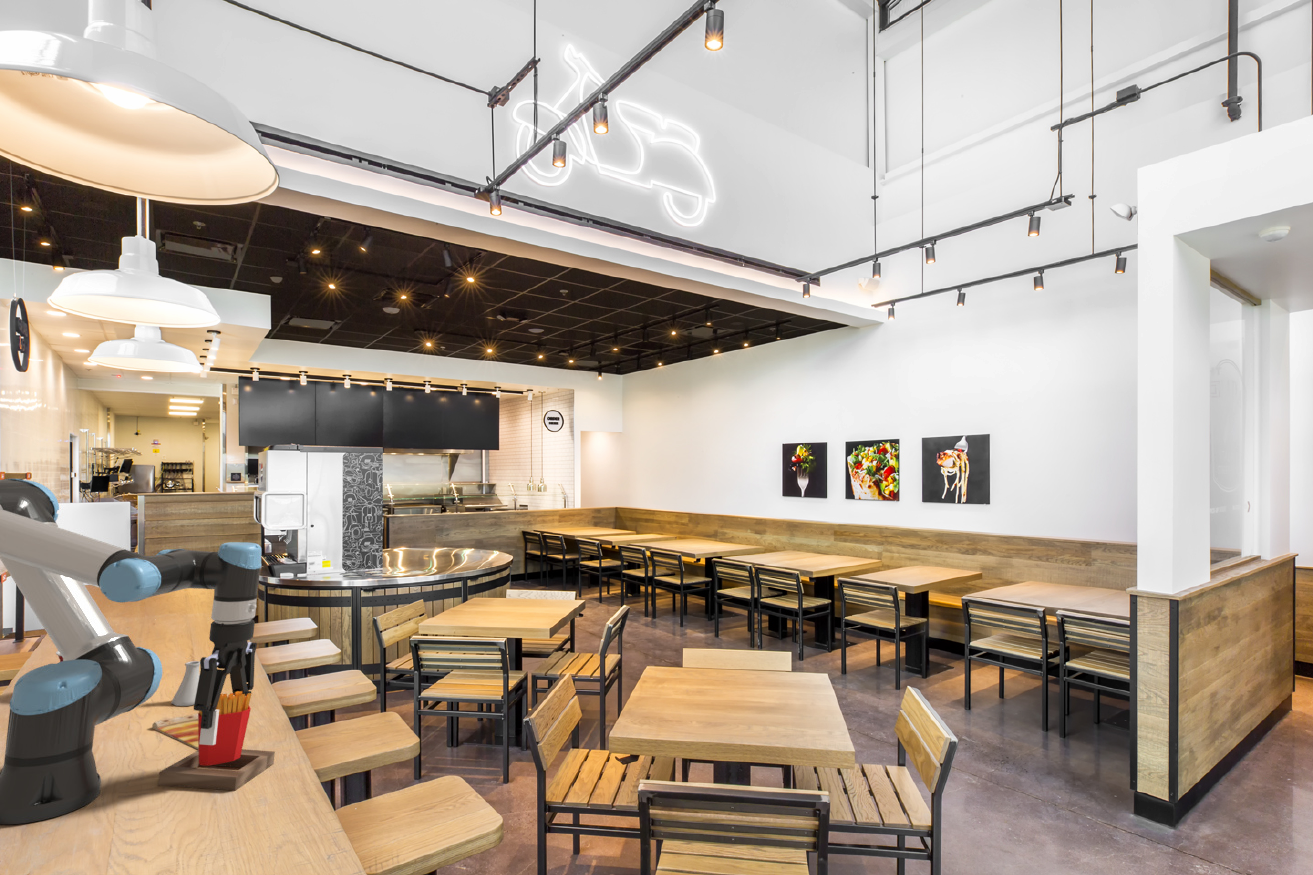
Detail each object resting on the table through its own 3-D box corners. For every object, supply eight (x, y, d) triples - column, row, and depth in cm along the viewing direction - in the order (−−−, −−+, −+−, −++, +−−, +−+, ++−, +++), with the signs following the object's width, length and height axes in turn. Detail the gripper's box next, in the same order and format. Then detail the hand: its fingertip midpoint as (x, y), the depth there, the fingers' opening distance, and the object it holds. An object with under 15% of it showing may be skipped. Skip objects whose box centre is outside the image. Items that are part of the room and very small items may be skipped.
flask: (187, 708, 164) (192, 667, 165) (164, 704, 166) (168, 664, 166) (213, 699, 171) (216, 660, 172) (190, 696, 173) (194, 657, 173)
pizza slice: (116, 758, 136) (117, 748, 136) (164, 719, 157) (165, 711, 157) (202, 754, 140) (203, 744, 140) (238, 717, 161) (239, 708, 162)
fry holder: (235, 790, 124) (236, 776, 124) (158, 785, 125) (159, 771, 125) (273, 763, 136) (274, 751, 136) (203, 758, 137) (204, 746, 137)
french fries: (243, 750, 135) (250, 686, 136) (246, 758, 132) (253, 693, 133) (189, 760, 129) (196, 693, 130) (191, 769, 126) (198, 700, 127)
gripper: (217, 632, 123) (203, 758, 121) (280, 611, 142) (269, 720, 141) (178, 629, 123) (164, 755, 121) (247, 609, 143) (235, 717, 141)
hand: (220, 736), depth 131 cm, fingers closed on french fries, 7 cm apart
